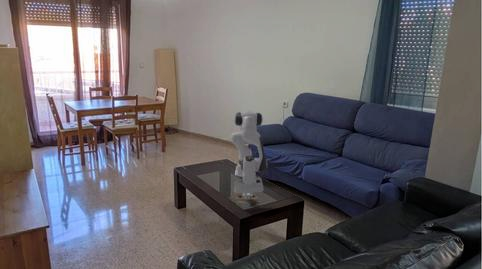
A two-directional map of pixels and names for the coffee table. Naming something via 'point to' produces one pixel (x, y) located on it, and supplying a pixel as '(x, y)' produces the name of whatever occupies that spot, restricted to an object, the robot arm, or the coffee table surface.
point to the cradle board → (240, 200)
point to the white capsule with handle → (245, 197)
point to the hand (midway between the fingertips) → (248, 198)
